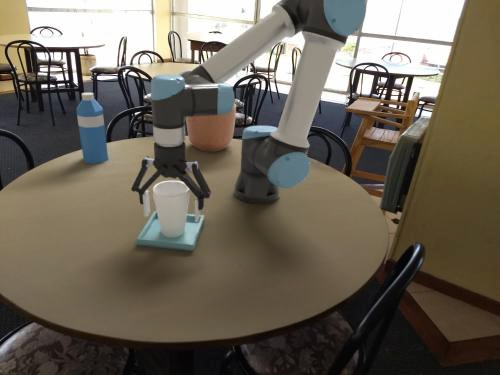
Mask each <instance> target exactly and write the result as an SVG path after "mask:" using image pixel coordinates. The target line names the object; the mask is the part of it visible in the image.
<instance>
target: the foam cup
mask: <svg viewBox="0 0 500 375" xmlns="http://www.w3.org/2000/svg"><path fill="white" fill-rule="evenodd" d="M152 198H153V200H154V205H155V211H157V215H158V220H159V225H160V229H161V233H162V234H163V235H164V236H166V237H178V236H180V235H182V234H183V233H184V232H185V226H186V218H187V214H188V209H189V202H190V198H191V190H190V189H189V188H188V187H187V186H186V185H185V183H184V182H183V181H181V180H170V179H169V180H165V181H160V182H158V183H156V184H155V185H154V186H153V187H152Z"/></svg>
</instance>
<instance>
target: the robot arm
mask: <svg viewBox="0 0 500 375" xmlns="http://www.w3.org/2000/svg"><path fill="white" fill-rule="evenodd" d="M366 3H367V2H366V0H279V1H278V2H276V4H274V5H273V6H272V8H271V12H270V13H269V14H267V15H266V16H265V17H263V18H262V19H261V20H259V21H258V22H256V23H255V24H253V25H252V26H251V27H250V28H248V29H247V30H246V31H244V32H243V33H241V34H240V35H239V36H238V37H236V38H235V39H233V40H232V41H231V42H228V44H227V45H226V46H224V47H223V48H221V49H220V50H219V51H216V53H214V54H213V55H212V56H210V57H209V58H207V59H206V60H205V61H204V62H202V63H201V64H199V65H198V66H196V67H195V68H193V69H192V70H184V71H182V72H180V73H179V74H170V73H168V74H167V73H164V74H162V73H161V74H157V75H155V76H153V77H152V78H151V80H150V98H151V99H150V100H151V101H150V103H151V114H152V115H151V116H152V133H153V134H152V136H153V141H154V143H153V151H154V155H153V156H154V158H150V156H148V155H146V156H145V157H144V158H143V159H142V160H141V166H140V167H141V168H140V170H139V171H138V174H137V176H136V179H135V180H134V181H133V184H132V186H131V188H130V189H131V191H132V192H137V193H138V196H139V203H140V205H143V217H144V218H148V217H149V215H150V213H151V204H150V203H151V202H150V201H151V200H150V199H151V198H150V191H149V190H148V189H149V187H151V186H152V184H153V183H154V182H155V181H156V180H157V179H158V178H159V177H160V176H162V177H163V178H165V179H168V178H171V179H175V180H176V179H177V178H178V179H179V181H181V182H184V183H185V185H186V186H187V187H188V188H189V189H190V192H192V194H193V195H194V197H195V199H194V215H195V222H198V220H199V218H200V215H201V211H203V209H204V206H205V205H204V204H205V202H204V201H205V199H209V198H210V196H211V194H212V191H211V189H210V187H209V184H208V183H207V181H206V179H205V178H204V176H203V173H202V171H201V170H200V164H199V160H194V161H192V162H191V161H187V158H186V157H187V156H186V154H187V153H186V142H185V141H186V117H193V116H211V115H217V116H219V115H223V114H229V113H230V112H231V111H232V110H233V107H234V103H235V93H234V89H233V87H232V86H231V85H230V84H229V83H226V82H227V81H228V80H230V79H231V78H233V77H234V76H235V75H237V74H238V73H239V72H240V71H242V70H243V69H244V68H246V67H248V65H250V64H252V63H253V62H254V61H255V60H257V59H258V58H260V57H261V56H263V55H264V54H265V53H267V51H269V50H270V49H272V48H273V47H275V46H276V45H278V44H279V43H280V42H281V41H283V40H284V39H285V38H290V39H291V38H294V37H295V36H296V35H297V34H299V33H301V35H302V36H303V39H304V44H303V48H302V50H301V53H300V56H299V60H298V63H297V67H296V68H295V72H294V75H293V78H292V82H291V85H290V89H289V91H288V94H287V97H286V101H285V103H284V107H283V110H282V113H281V117H280V120H279V123H278V127H276V126H272V125H251V126H248V127H247V126H246V127H245V128H244V129H243V131H242V137H241V152H240V153H241V156H240V172H239V174H238V176H237V179H236V182H235V184H234V187H233V189H234V190H233V192H234V197H236V198H237V199H238V200H241V201H242V202H245V203H247V204H248V203H249V204H253V205H254V204H255V205H264V204H270V203H273V202H275V201H276V200H278V199H279V197H280V188H281V189H291V188H295V187H297V186H298V185H300V184H302V183H303V182H304V180H306V178H307V177H308V175H309V173H310V171H311V161H310V158H309V157H308V152H309V149H310V143H309V140H308V135H309V133H310V129H311V126H312V123H313V121H314V118H315V115H316V112H317V109H318V106H319V104H320V101H321V97H322V96H323V91H324V88H325V85H326V83H327V80H328V77H329V74H330V72H331V69H332V65H333V63H334V60H335V57H336V54H337V52H338V50H340V49H342V48H343V47H346V45H347V44H346V43H347V40H348V39H349V36H352V35H353V34H355V33H356V31H357V32H358V31H359V30H360V28H361V27H362V25H363V23H364V21H365V17H366V13H367V4H366ZM152 165H153V166H154V168H155V169H156V171H155V172H154V173H153V174H152V175H151V177H150V178H149V179H148V180H147V181H146V182H144V184H143V185H142V186H141V183H142V182H143V180H144V177H145V175H146V173H147V171H148V169H149V168H150V167H151V166H152ZM187 168H188V169H189V170H190V172H192V175H193V178H194V179H195V180H193V179H192V177H191V176H190V174H189V172H188V171H187V170H186V169H187ZM196 182H197V183H196Z"/></svg>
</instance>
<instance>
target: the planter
mask: <svg viewBox="0 0 500 375" xmlns="http://www.w3.org/2000/svg"><path fill="white" fill-rule="evenodd" d="M236 115H237V104H236V103H235V102H234V107H233V110H232V111H231V112H230V113H229V114H223V115H219V116H217V115H211V116H193V117H185V123H186V130H187V137H188V140H189V142H190V143H191V145H192V146H193V147H195V148H196V149H197V150H199V151H203V152H209V153H210V152H219V151H223V150H225V149H226V148H227V147H228V146H229V145H230V144H231V142H232V141H233V137H234V133H235V125H236Z"/></svg>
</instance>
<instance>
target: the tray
mask: <svg viewBox="0 0 500 375" xmlns="http://www.w3.org/2000/svg"><path fill="white" fill-rule="evenodd" d="M204 223H205V215H203V214H200V218H199V220H198V222H195V213H194V214H193V213H191V214H190V213H187V218H186V226H185V232H184V233H183V234H182V235H180V236H178V237H166V236H164V235H163V234H162V233H161V229H160V225H159V220H158V215H157V210H154V211H153V212H152V214H151V215H150V217H149V219H148V220H147V222H146V224H145V225H144V227H143V228H142V229H141V232H140V233H139V235H138V236H137V238H136V245H137V246H139V247H146V248H147V247H148V248H158V249H167V250H175V251H176V250H178V251H188V252H194V250H195V248H196V245H197V243H198V241H199V240H198V239H199V237H200V234H201V233H202V229H203V227H204Z"/></svg>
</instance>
